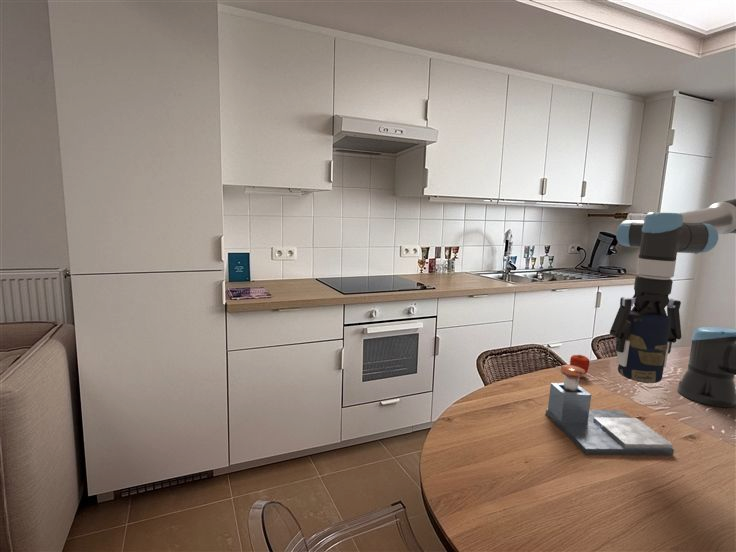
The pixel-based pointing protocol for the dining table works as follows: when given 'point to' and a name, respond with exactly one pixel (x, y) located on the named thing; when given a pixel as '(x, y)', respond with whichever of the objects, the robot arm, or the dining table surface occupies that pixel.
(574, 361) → the apple
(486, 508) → the dining table surface
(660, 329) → the canister
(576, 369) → the pin
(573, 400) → the grey l-shaped stand
